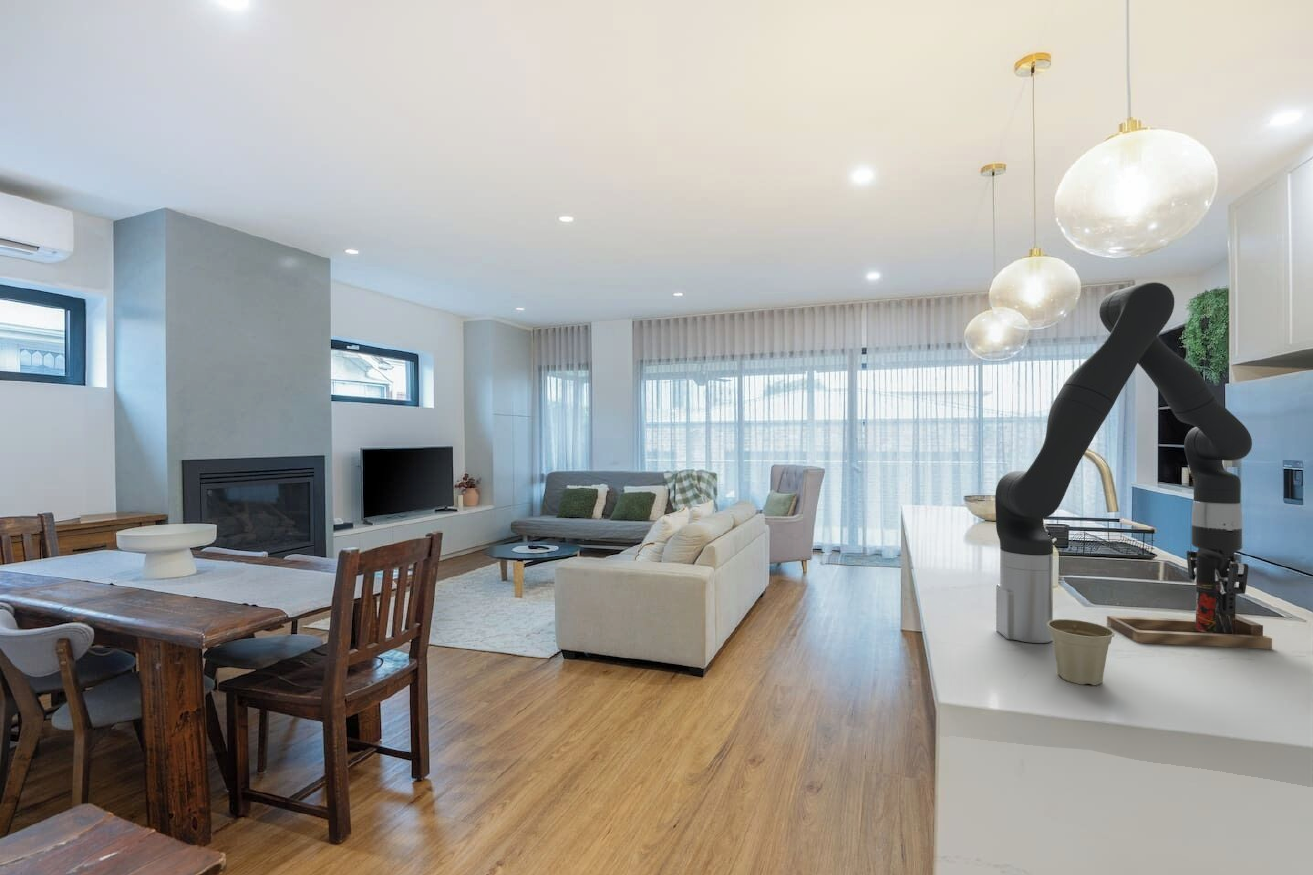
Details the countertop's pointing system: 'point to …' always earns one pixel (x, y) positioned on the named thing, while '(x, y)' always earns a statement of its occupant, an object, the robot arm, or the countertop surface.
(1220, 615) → the deodorant
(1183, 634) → the wooden frame
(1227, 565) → the robot arm
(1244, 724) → the countertop surface
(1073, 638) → the flower pot
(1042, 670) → the countertop surface
